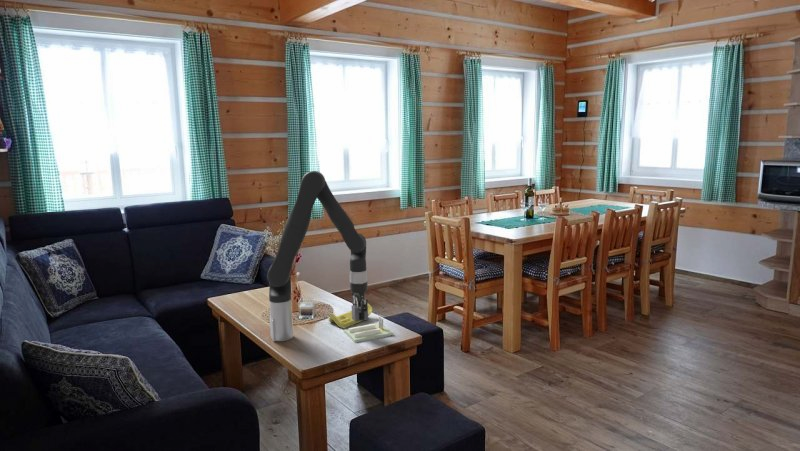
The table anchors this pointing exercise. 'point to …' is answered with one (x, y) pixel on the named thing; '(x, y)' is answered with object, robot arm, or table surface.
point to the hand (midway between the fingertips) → (360, 318)
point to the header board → (368, 332)
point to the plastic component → (346, 318)
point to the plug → (356, 313)
